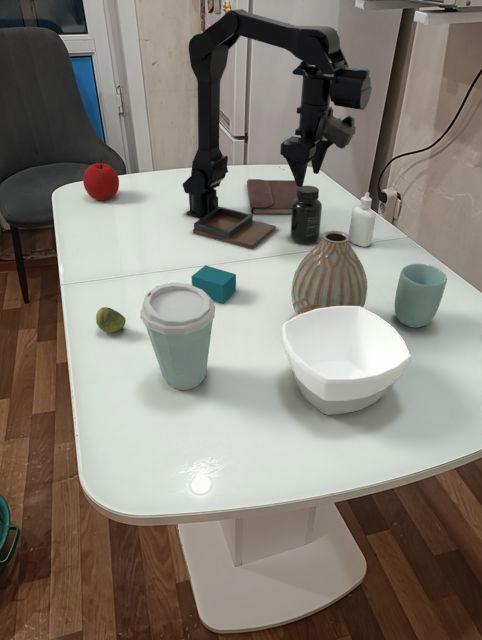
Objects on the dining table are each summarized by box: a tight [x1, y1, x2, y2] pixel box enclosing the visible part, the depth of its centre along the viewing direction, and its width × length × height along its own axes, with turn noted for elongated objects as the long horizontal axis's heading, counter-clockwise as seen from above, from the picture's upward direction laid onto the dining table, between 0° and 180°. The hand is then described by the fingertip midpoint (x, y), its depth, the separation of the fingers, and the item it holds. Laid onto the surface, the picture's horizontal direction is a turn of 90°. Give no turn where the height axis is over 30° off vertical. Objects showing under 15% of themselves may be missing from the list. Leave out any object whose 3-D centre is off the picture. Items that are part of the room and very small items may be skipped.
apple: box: [82, 158, 120, 201], centre depth 133 cm, size 9×9×10 cm
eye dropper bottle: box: [348, 191, 377, 248], centre depth 116 cm, size 4×6×12 cm
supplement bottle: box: [289, 185, 323, 245], centre depth 117 cm, size 7×7×12 cm
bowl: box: [280, 306, 412, 415], centre depth 78 cm, size 18×18×9 cm
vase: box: [290, 230, 368, 316], centre depth 88 cm, size 13×13×18 cm
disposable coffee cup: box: [140, 282, 216, 391], centre depth 76 cm, size 11×11×15 cm
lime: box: [95, 306, 127, 333], centre depth 88 cm, size 4×5×5 cm
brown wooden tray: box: [192, 206, 277, 250], centre depth 122 cm, size 16×12×2 cm
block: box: [191, 264, 237, 304], centre depth 100 cm, size 5×7×4 cm
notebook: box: [246, 178, 299, 215], centre depth 138 cm, size 15×20×2 cm
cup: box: [393, 263, 448, 328], centre depth 92 cm, size 8×8×10 cm
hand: (308, 179), depth 111 cm, fingers open, 9 cm apart
